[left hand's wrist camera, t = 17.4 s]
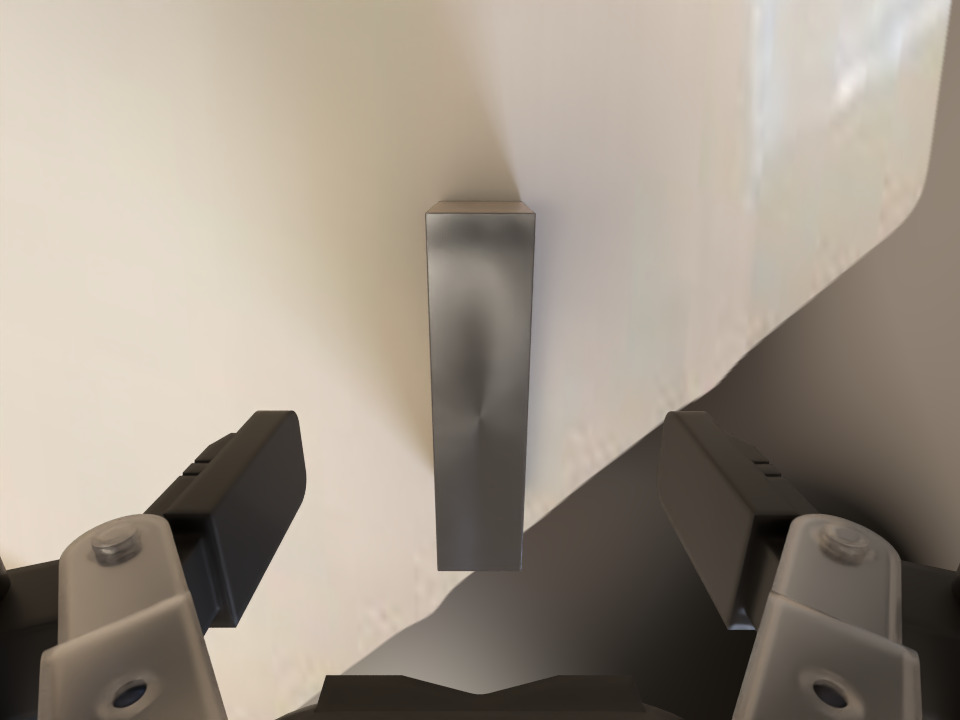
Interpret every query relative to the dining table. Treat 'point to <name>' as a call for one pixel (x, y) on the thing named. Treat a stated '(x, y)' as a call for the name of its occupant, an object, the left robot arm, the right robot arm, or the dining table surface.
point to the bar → (480, 378)
